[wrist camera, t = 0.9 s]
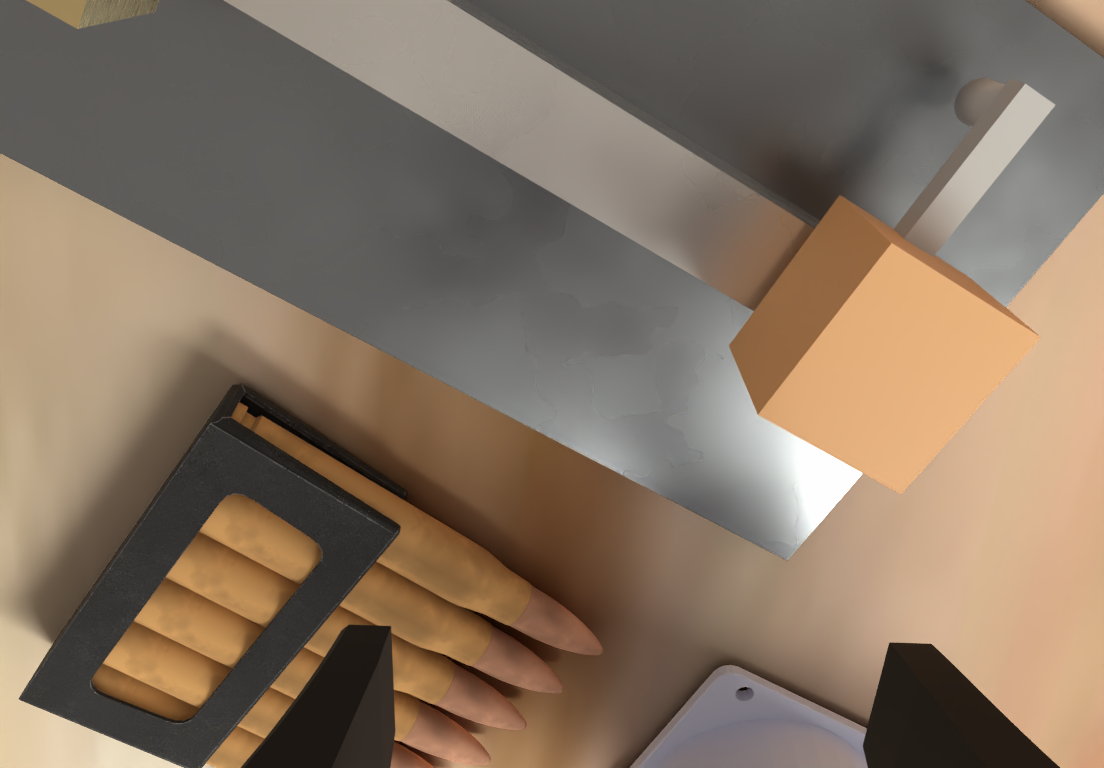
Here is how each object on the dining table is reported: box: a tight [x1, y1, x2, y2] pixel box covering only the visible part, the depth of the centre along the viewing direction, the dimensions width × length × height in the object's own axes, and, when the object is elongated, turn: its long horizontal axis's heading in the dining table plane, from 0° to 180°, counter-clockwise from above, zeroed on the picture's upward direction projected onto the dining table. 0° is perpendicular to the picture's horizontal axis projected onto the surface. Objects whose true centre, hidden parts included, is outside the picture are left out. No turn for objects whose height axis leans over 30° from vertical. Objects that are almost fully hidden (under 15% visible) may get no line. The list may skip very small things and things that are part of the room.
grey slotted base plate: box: [0, 0, 1104, 561], centre depth 17 cm, size 22×13×6 cm, turn 59°
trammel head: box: [729, 78, 1055, 494], centre depth 17 cm, size 3×7×4 cm, turn 149°
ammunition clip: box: [19, 384, 603, 768], centre depth 25 cm, size 11×2×12 cm
